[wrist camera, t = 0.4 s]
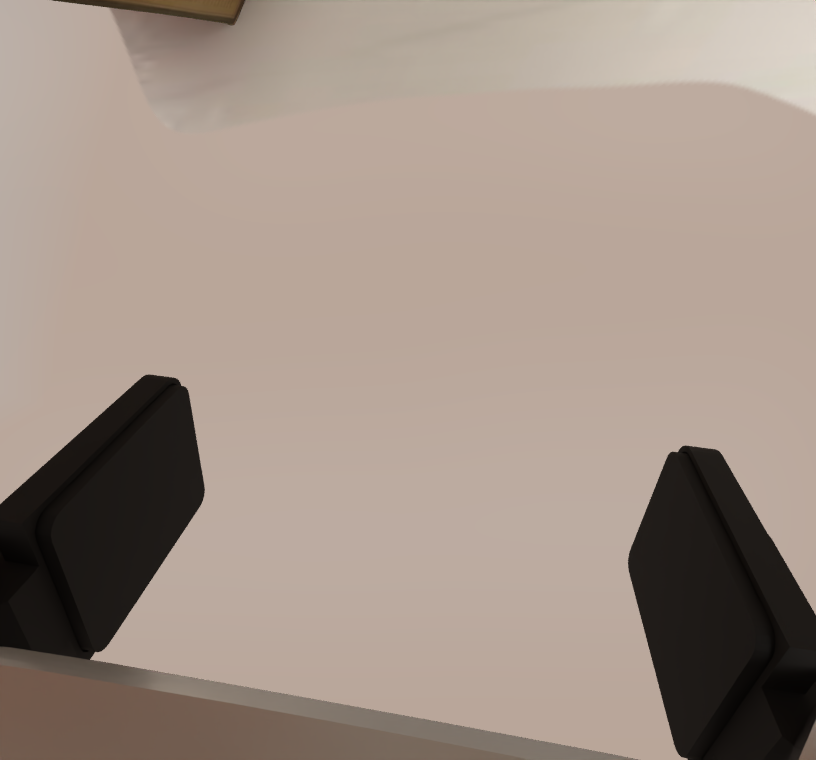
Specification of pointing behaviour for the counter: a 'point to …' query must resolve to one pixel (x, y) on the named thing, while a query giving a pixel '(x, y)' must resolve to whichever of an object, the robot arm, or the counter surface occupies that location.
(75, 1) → the food packaging
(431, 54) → the counter surface
